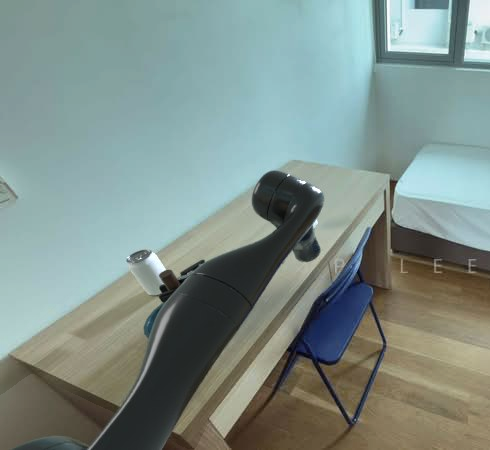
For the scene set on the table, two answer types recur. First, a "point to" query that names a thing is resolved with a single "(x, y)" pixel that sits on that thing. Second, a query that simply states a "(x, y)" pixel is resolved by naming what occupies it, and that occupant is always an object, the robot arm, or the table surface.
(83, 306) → the table surface
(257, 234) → the table surface
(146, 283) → the can
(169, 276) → the brown post with base
